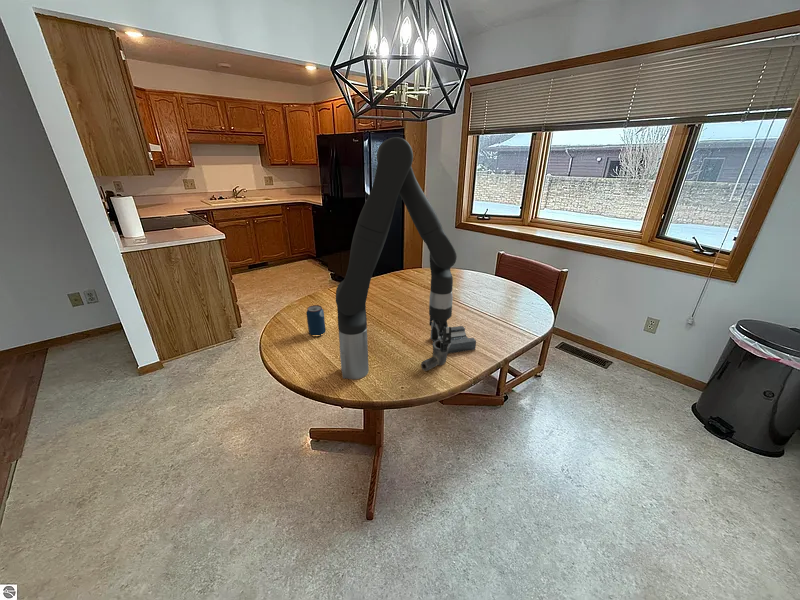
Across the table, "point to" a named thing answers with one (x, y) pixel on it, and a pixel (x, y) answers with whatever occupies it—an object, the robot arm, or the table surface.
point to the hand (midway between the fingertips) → (439, 345)
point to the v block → (459, 340)
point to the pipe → (435, 357)
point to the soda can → (315, 320)
